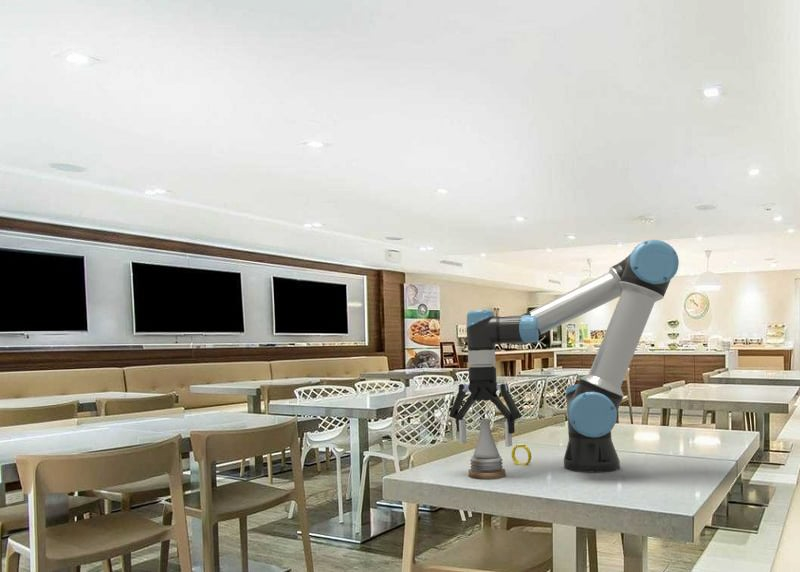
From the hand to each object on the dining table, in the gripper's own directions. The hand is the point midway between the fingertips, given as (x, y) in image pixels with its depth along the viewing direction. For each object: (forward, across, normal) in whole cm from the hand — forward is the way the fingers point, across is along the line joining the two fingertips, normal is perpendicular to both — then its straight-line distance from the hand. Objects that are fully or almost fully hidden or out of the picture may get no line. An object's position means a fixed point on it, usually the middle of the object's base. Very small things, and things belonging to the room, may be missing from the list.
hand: (485, 444), depth 176 cm
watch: (+8, -2, -20) cm, 22 cm away
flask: (+3, 0, 0) cm, 3 cm away
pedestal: (+8, 0, 0) cm, 8 cm away
